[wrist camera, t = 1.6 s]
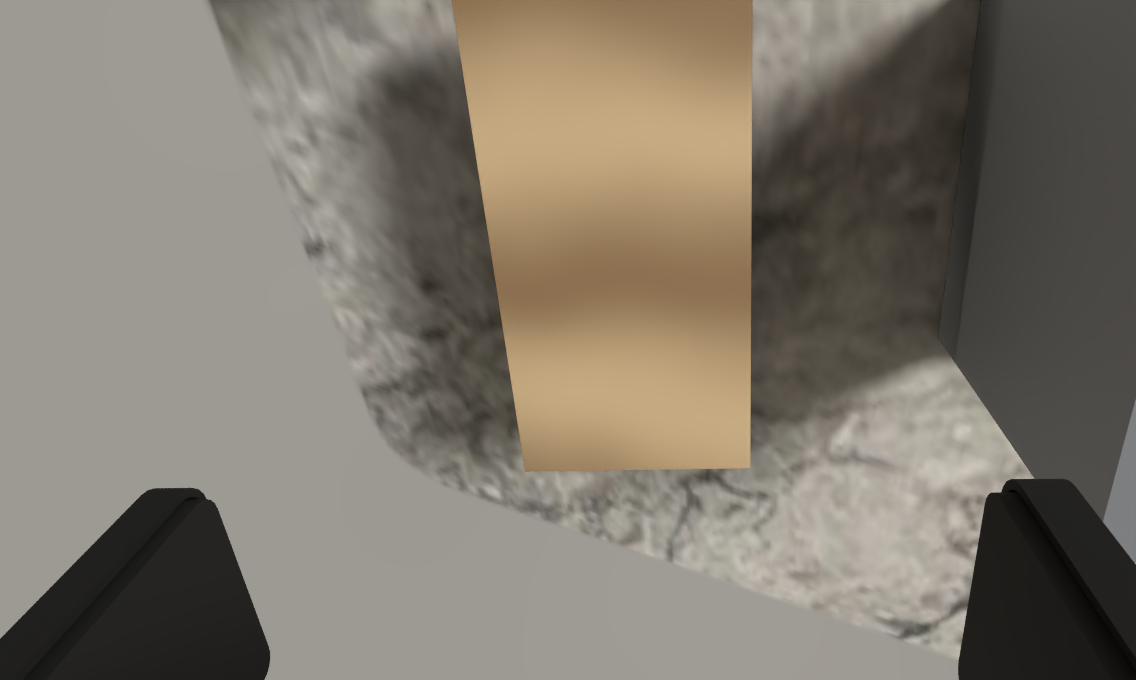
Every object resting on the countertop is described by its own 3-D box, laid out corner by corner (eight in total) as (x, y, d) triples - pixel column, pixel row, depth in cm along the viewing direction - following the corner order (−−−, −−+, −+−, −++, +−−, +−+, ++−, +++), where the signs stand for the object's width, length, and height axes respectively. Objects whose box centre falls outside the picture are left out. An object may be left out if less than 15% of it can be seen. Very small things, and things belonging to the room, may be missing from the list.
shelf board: (471, -15, 17) (449, -9, 16) (743, -45, 16) (752, -43, 15) (536, 430, 23) (525, 471, 21) (743, 425, 22) (750, 468, 20)
